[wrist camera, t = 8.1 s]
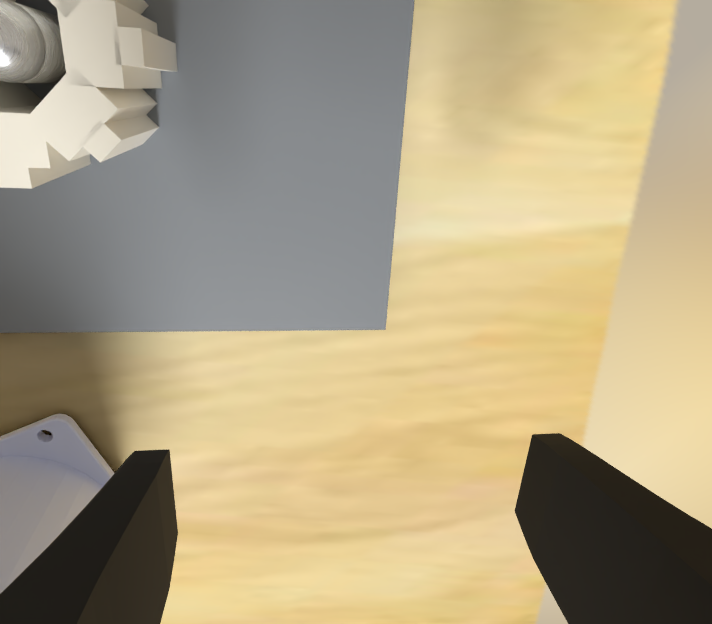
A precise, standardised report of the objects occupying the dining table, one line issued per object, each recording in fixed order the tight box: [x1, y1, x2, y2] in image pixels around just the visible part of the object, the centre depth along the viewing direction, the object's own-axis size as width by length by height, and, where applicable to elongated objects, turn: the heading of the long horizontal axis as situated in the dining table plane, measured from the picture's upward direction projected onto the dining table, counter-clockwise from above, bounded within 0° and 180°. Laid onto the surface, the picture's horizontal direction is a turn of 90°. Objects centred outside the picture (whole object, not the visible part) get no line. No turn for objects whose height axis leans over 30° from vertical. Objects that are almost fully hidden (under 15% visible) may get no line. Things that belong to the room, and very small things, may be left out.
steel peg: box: [0, 0, 66, 84], centre depth 12 cm, size 2×2×4 cm
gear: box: [0, 0, 178, 189], centre depth 12 cm, size 6×6×4 cm
